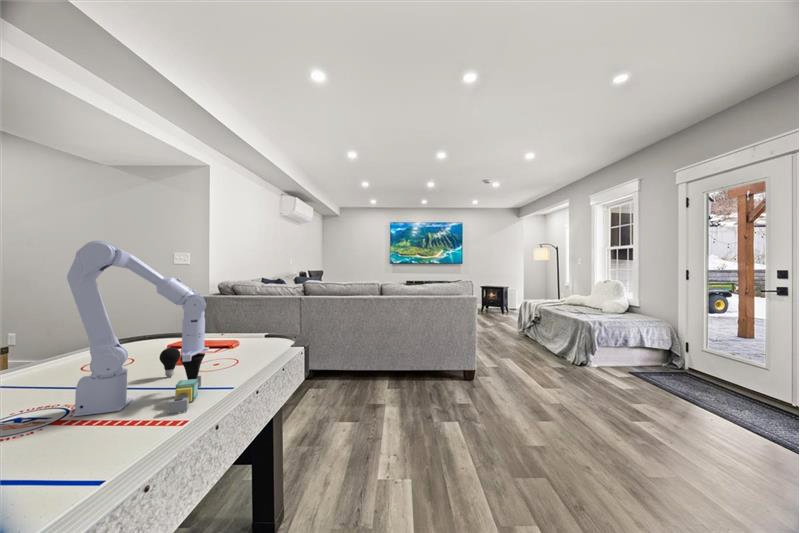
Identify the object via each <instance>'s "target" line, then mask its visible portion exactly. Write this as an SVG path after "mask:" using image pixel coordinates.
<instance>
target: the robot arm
mask: <svg viewBox="0 0 800 533" xmlns="http://www.w3.org/2000/svg"><path fill="white" fill-rule="evenodd" d="M110 267H117V268H123V269H128V270H129V271H131V272H133V273H134V274H136V275H137V276H139V277H141V278H143V279H144V280H146V281H148V282H149V283H151V284H153V285H154V286H156V293H157V294H158V295H160V296H162V297H164V298H165V299H166V300H168V301H170V302H171V303H172V304H174V305H176V306H181V308H182V310H183V319H182V322H181V323H182V324H181V325H182V326H181V330H182V331H181V350H180V355H181V356H180V359H179V360H180V362H181V364H182V365H183V367H184V370H185V374H186V377H187V378H186V380H191V379H197V377H198V375H199V372H200V368H201V364H202V362H203V360H204V357H205V356H206V353H204V352H206V351H209V350H210V347H209V346H207V347H206V346H205V338H206V336H205V335H206V332H205V331H206V317H205V314H206V313H205V310H206V308H207V303H206V299H205V298H204V297H203V296H202V295H201V293H197V290H196V289H194V288H193V289H191V288H190V287H189V286H187V284H184V283H183V280H182V279H181V278H179V277H178V278H175V277H173V276H169V277H166V276H163V275H162V274H160V273H159V272H158V271H156V270H155V269H153V268H152V267H151V266H149V265H148V264H147V263H145V262H143V261H142V260H141V259H139V258H138V257H137V256H135V255H133V254H131V253H129V252H127V251H125V250H123V249H121V248H118V247H117V246H116V245H114V244H112V243H108V242H106V241H102V240H93V241H90V242H87V243H86V244H84V245H83V246H82V247H81V248H79V249H78V250H77V251H76V252H75V256H74V259H73V262H72V263H71V266H70V268H69V270H68V272H67V275H66V279H67V282H68V284H69V287H70V291H71V293H72V297H73V299H74V303H75V305H76V307H77V308H76V309H77V310H78V313H79V317H80V319H81V322H82V325H83V327H84V329H85V330H84V331H85V333H86V336H87V339H88V341H89V354H90V356H91V360H90V363H89V370H90V372H91V373H90V375H85V376H82V377H80V379H79V380H78V381H77V384H76V387H75V394H74V396H75V398H74V399H75V400H74V401H75V402H74V413H73V414H72V417H80V416H88V415H89V416H90V415H96V414H104V413H105V414H106V413H114V412H120V411H122V410H123V409H125V407H126V406H127V405H129V404H130V403H131V402H132V401H133V400H134V398H133V397H129V398H128V396H127V393H128V369H127V368H126V366H125V365H124V364H125V363H126V361H127V360H128V357H129V354H128V351H127V349H126V348H125V347H123V346H122V345H121V343H120V341H119V339H118V338H117V336H116V335H115V333H114V330H113V327H112V324H111V320H110V318H109V315H108V312H107V309H106V307H105V304H104V301H103V298H102V295H101V291H100V288H99V287H98V282H97V278H98V277H99V276H100V275H101V274H102V273H103V272H105V270H106V269H108V268H110Z"/></svg>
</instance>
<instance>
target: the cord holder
mask: <svg viewBox="0 0 800 533" xmlns="http://www.w3.org/2000/svg"><path fill="white" fill-rule="evenodd" d="M202 378H203V374H198V377H197V379H198V386H201V385H203V383H202V382H203V379H202ZM201 387H202V386H201ZM175 392H176V395H175V394H174V395H175V397H174V398H173V399H170V400H169V401H168V407H167V409H168V411H167V415H173V413H174V414H180V413H179V412H182V413H185V412H184V411H187V410H188V411H189V408H190V403H191V402H193V401H192V387H189V388H182V389H176V388H175ZM188 411H187V412H188Z"/></svg>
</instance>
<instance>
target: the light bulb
mask: <svg viewBox="0 0 800 533" xmlns="http://www.w3.org/2000/svg"><path fill="white" fill-rule="evenodd" d="M180 358H181V350H179V349H177V347H167V348H165V349H163V350H162V351H161V353H160V354H159V361H160V363H161V364H162V365H163V369H164V371H165V372H164V373H165V376H166V377H168V378H171V377H172V376H173V375H174V374H175V368H176V365H177V364H178V361H179V360H180Z"/></svg>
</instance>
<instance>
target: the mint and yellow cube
mask: <svg viewBox="0 0 800 533" xmlns="http://www.w3.org/2000/svg"><path fill="white" fill-rule="evenodd" d="M189 387H192V401H191V402H194V401H195V399H197V397H198V392H199V389H198V388H199V387H198V379H191V380H188V379H182V380H181V379H180V380H179V381H178V382H177V383H176V384H175V390H176V389H182V388H189ZM174 393H175V394H174V395H176V391H175V392H174Z"/></svg>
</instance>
